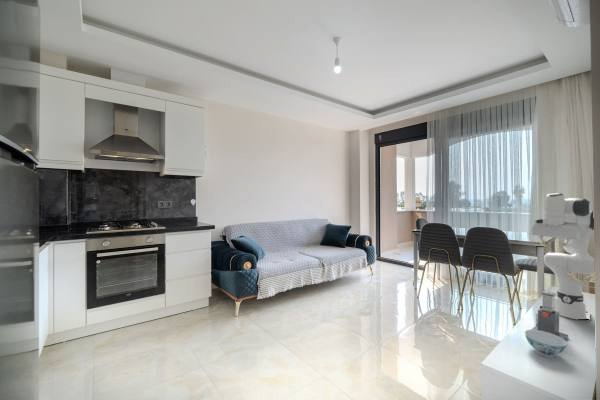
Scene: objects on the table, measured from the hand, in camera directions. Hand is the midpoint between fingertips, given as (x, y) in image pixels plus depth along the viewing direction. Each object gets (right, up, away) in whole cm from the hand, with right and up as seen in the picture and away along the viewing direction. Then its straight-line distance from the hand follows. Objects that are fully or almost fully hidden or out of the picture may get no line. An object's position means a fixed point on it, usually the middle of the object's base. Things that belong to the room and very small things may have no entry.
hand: (554, 244), depth 156 cm
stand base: (-12, -48, -9) cm, 50 cm away
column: (-12, -46, -9) cm, 49 cm away
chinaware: (-29, -48, -26) cm, 62 cm away
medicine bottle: (-4, -48, 0) cm, 48 cm away
